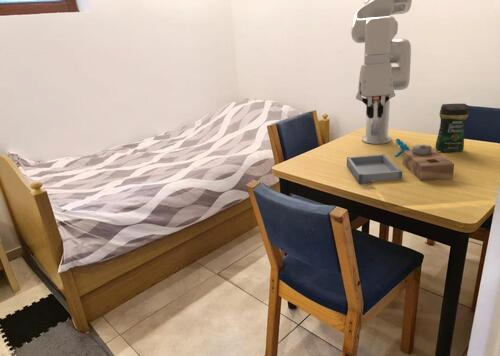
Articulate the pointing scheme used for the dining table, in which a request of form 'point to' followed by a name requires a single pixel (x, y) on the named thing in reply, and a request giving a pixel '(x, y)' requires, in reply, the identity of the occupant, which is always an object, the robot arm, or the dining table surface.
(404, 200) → the dining table surface
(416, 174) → the tensioner block
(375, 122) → the pin
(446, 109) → the coffee jar
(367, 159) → the tray
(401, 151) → the gear
